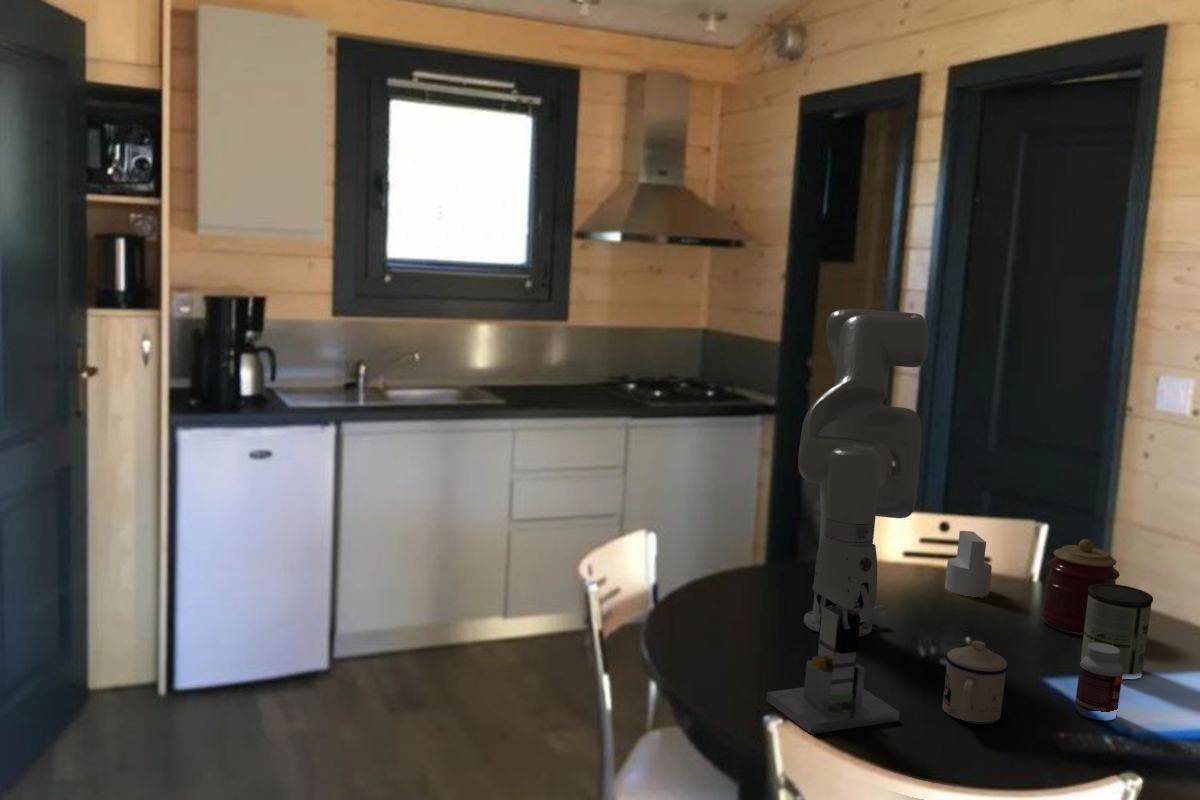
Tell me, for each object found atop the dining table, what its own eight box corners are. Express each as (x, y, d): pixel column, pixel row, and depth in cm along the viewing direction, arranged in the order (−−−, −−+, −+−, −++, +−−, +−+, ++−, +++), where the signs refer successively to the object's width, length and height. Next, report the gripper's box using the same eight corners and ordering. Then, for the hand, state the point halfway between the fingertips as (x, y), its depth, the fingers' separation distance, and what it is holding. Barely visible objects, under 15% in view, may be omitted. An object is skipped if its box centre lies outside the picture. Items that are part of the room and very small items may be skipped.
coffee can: (1076, 654, 201) (1086, 579, 199) (1138, 664, 198) (1148, 588, 196) (1081, 673, 191) (1091, 595, 189) (1146, 684, 188) (1157, 605, 186)
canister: (1093, 643, 207) (1105, 552, 205) (1028, 622, 217) (1038, 535, 214) (1123, 630, 216) (1135, 542, 213) (1059, 611, 226) (1070, 527, 223)
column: (836, 690, 172) (844, 603, 170) (852, 701, 168) (860, 612, 166) (813, 693, 170) (821, 606, 168) (829, 704, 166) (837, 615, 164)
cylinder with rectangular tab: (994, 598, 231) (1001, 543, 230) (951, 596, 231) (958, 540, 230) (980, 585, 240) (986, 532, 238) (939, 583, 240) (945, 529, 239)
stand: (850, 689, 178) (855, 638, 177) (898, 720, 167) (904, 666, 166) (766, 701, 172) (770, 647, 170) (810, 734, 161) (815, 677, 159)
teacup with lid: (946, 697, 178) (953, 627, 176) (1005, 710, 173) (1014, 640, 172) (931, 723, 167) (939, 650, 165) (994, 739, 163) (1003, 663, 161)
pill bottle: (1118, 726, 170) (1127, 658, 169) (1074, 717, 172) (1083, 650, 171) (1115, 711, 176) (1124, 645, 174) (1073, 703, 178) (1081, 637, 177)
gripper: (904, 543, 159) (892, 664, 162) (836, 514, 174) (825, 625, 177) (862, 546, 156) (850, 669, 159) (796, 517, 171) (786, 629, 174)
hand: (837, 645), depth 168 cm, fingers closed on column, 4 cm apart
